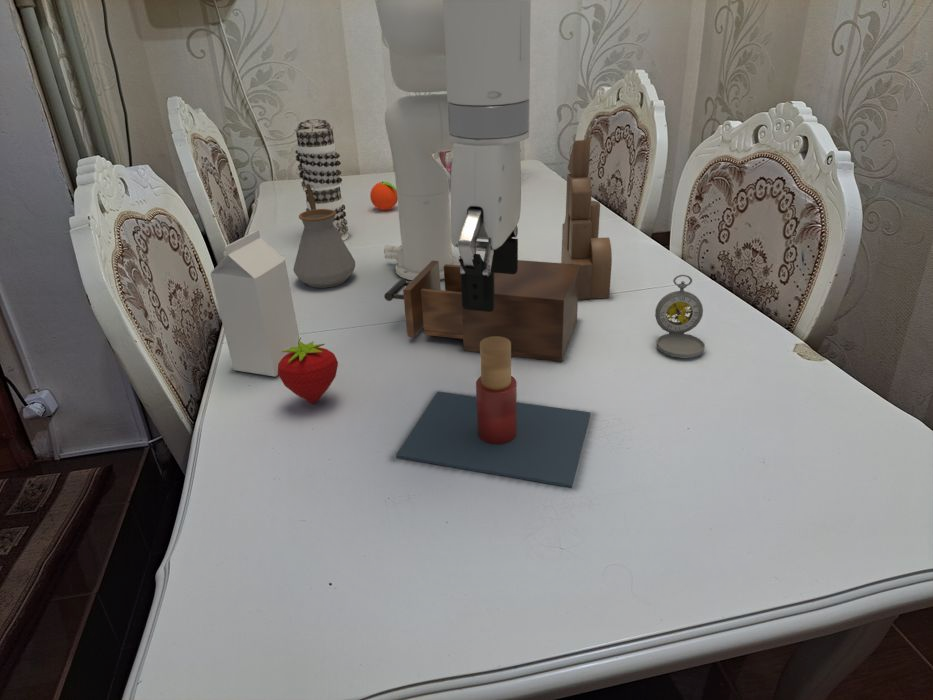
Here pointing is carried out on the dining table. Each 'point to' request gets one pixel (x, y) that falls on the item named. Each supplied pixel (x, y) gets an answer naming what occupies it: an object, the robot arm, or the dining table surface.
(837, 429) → the dining table surface
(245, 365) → the milk carton
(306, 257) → the coffee pot
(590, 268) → the wooden toy
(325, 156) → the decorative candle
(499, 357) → the red cylinder
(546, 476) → the mat
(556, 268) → the cabinet
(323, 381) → the strawberry
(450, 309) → the drawer
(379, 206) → the clementine
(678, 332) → the pocket watch
